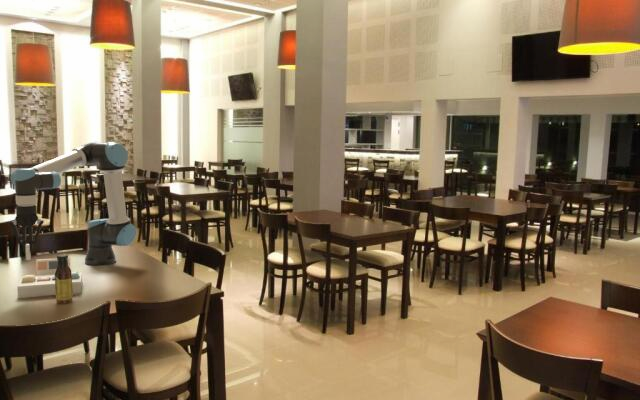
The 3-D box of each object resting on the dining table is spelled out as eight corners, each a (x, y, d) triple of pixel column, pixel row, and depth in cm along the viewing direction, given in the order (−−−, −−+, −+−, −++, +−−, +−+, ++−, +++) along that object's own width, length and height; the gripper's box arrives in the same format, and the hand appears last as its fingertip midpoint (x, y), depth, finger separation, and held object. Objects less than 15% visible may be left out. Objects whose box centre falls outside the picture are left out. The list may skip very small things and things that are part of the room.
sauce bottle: (59, 299, 217) (58, 252, 214) (75, 299, 218) (73, 252, 215) (53, 304, 211) (51, 256, 208) (69, 304, 211) (67, 256, 209)
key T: (34, 283, 228) (34, 274, 227) (33, 286, 224) (33, 276, 224) (24, 284, 226) (23, 274, 226) (22, 287, 223) (22, 277, 222)
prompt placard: (70, 280, 244) (70, 257, 243) (70, 281, 243) (69, 258, 242) (36, 283, 238) (36, 259, 237) (36, 283, 238) (35, 260, 236)
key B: (49, 285, 230) (49, 276, 230) (49, 288, 227) (48, 278, 226) (39, 286, 229) (38, 277, 228) (38, 289, 225) (37, 279, 224)
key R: (78, 280, 235) (78, 271, 234) (78, 282, 231) (78, 273, 230) (68, 281, 233) (68, 271, 233) (67, 283, 229) (67, 274, 229)
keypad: (82, 282, 241) (81, 272, 240) (81, 292, 226) (80, 281, 226) (22, 287, 232) (22, 276, 231) (17, 298, 217) (17, 286, 216)
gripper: (44, 203, 227) (46, 256, 230) (9, 204, 222) (12, 258, 225) (42, 205, 220) (44, 260, 223) (7, 206, 215) (9, 262, 218)
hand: (28, 259), depth 224 cm, fingers closed
